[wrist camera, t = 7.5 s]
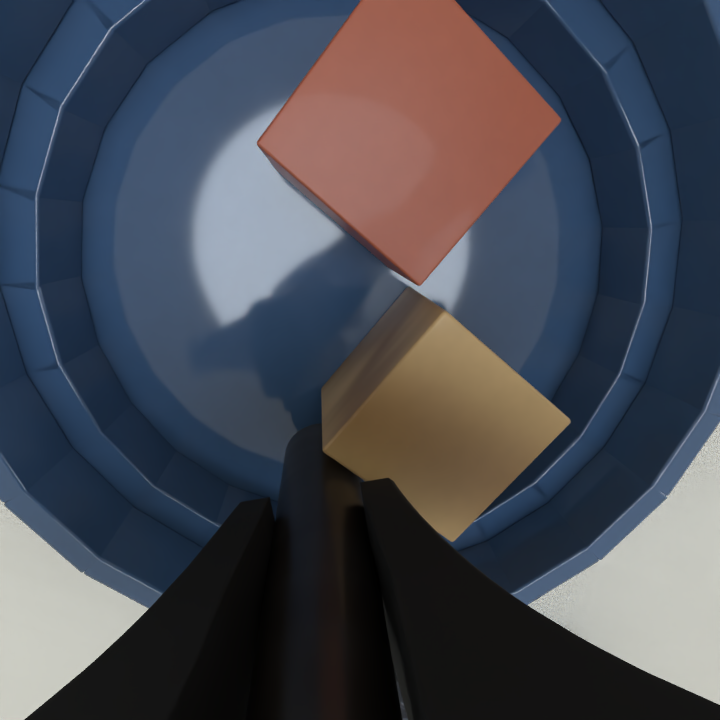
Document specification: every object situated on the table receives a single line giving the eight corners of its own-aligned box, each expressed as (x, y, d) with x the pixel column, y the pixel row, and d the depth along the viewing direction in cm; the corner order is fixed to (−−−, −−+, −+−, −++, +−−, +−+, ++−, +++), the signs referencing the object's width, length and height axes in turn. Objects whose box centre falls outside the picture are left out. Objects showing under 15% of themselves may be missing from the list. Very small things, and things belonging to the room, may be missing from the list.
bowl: (301, -280, 10) (289, -663, 6) (744, 244, 14) (929, 253, 10) (-85, 326, 13) (-290, 377, 8) (381, 614, 17) (403, 745, 13)
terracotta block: (374, 36, 11) (403, -60, 8) (487, 151, 12) (564, 118, 8) (274, 169, 12) (254, 143, 8) (389, 268, 13) (420, 287, 9)
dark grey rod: (313, 409, 12) (299, 831, 4) (371, 447, 13) (478, 902, 4) (270, 464, 13) (169, 966, 4) (329, 500, 13) (347, 1018, 5)
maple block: (408, 284, 13) (445, 309, 9) (504, 368, 14) (573, 421, 10) (320, 388, 14) (320, 451, 10) (417, 461, 15) (453, 544, 11)
